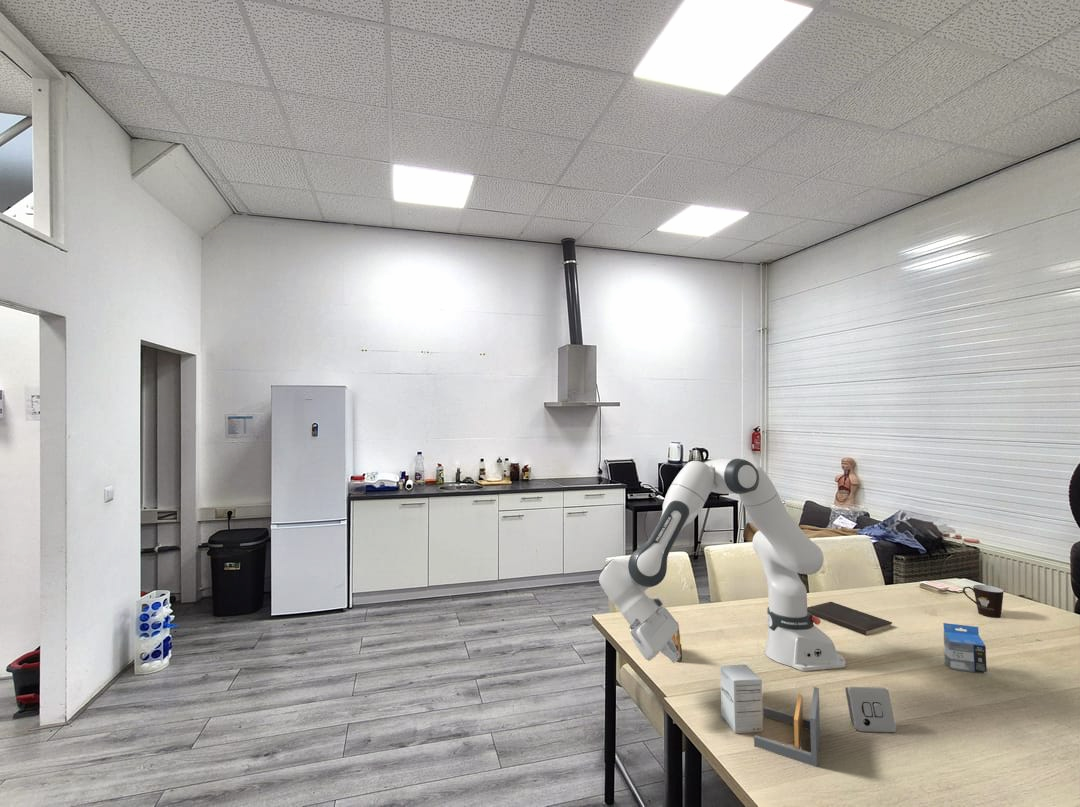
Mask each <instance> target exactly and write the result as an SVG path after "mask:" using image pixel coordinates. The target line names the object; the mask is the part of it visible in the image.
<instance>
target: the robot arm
mask: <svg viewBox="0 0 1080 807" xmlns="http://www.w3.org/2000/svg"><path fill="white" fill-rule="evenodd" d="M711 493H716V494H722V495H728V494H730V495H732V494H736V495H738V497H739V498H740V500H741V502H742V505H743V506H744V508H745V510H746V512H747V515H748V517H749V519H750V520H751V522H752V524H753V526H754V528H756V530H757V531H756V532H755V533H754V534H753V537H752V548H753V550H754V552H755V553H756V554H757V555H758V558H759V560H760V562H761V565H762V568H763V571H764V575H765V579H766V582H767V595H768V597H767V598H768V599H767V600H768V607H767V609H766V610H767V613H766V614H767V617H766V619H767V620H766V621H767V626H768V631H767V637H766V638H767V640H766V643H765V648H764V654H765V655H766V656H767V657H768V658H769V659H771V660H773V661H775V662H777V663H779V664H782V665H785V666H789V667H792V668H794V669H796V670H799V671H802V672H808V671H818V670H819V671H820V670H831V669H842V668H846V666H847V665H846V660H845V659H844V657H843V656H842V655H841V654H840V653H838V652H837V648H836V646H835V644H834V642H833V640H832V639H831V638H830V636H828V635H827V634H826V633H824V631H822V630H821V629H820V628H818V627H817V626H818V625H820V624H821V622H822V621H821V620H822V619H820V618H818V617H816V616H813V615H812V614H810V613H809V612H807V607H808V593H807V592H808V591H807V587H806V585H805V584H804V583H803V581H802V580H801V578H800V575H799V574H801V575H802V574H803V575H814V574H815V575H816V574H817V573H818V572H819V571H820V570H821V569H822V567H823V564H824V556H825V555H824V553H823V551H822V549H821V548H820V546H818V545H817V544H816V543H815V542H814V541H812V540H811V538H809V537H808V536H807V535H806V533H805V532H804V531H803V529H801V527H800V526H799V525H798V524H797V522H796V521H795V520H794V518H793V517H792V516H791V515H790V513H789V511H788V510H787V508H786V506H785V504H784V503H783V501H782V498H781V497H780V495H779V493H778V491H777V489H776V487H775V485H774V484H773V482H772V480H771V478H770V477H769V476H768V474H767V473H766V471H764V469H763V468H762V467H761V466H760V465H758V464H754V463H752V462H750V461H749V460H746V459H742V458H732V457H731V458H730V457H729V458H728V457H721V458H716V459H715V458H714V459H712V458H711V459H706V460H702V461H699V460H690V461H689V462H687V463H686V464H685V465H684V466H683V467H682V468H681V469H680V471H679V472H678V473H677V475H676V476H675V478H674V479H673V481H672V482H671V484H670V486H669V487H668V489H667V492H666V494H665V497H664V500H663V503H662V513H661V516H660V519H659V521H658V523H657V524H656V526H655V527H654V529H653V531H652V533H651V535H650V536H649V538H648V540H647V541H646V542H645V543H644V544H643V545H642V546H640V547H638V548H637V549H636V550H634V551H633V552H632V553H631V555H630V556H629V557H624V558H617V559H616V558H615V559H614V558H612V559H610V560H609V561H608V562H607V563H606V564H605V565H604V567H603V568H602V569H601V570H600V572H599V576H598V582H599V585H600V587H601V588H602V590H603V591H604V593H605V594H606V595H607V598H609V600H611V602H612V603H613V604H614V605H615V606H616V607H617V608H618V609H619V611H620V614H621V615H622V616H623V618H624V619H625V620H626V622H627V623H628V625H629V633H630V636H631V639H632V641H633V643H634V644H635V646H636V648H637V649H638V651H639V652H640V654H641V655H642V656H643V658H644V659H645V660H647V661H648V662H650V661H652V660H653V659H654V658H655V657H656V656H658V654H660V653H661V654H662V655H664V656H665V657H667V658H669V660H670V661H671V663H673V664H674V663H677V662H676V661H677V660H678V659H679V658H680V656H681V655H680V653H679V652H678V651H677V649H676V646H675V644H674V642H673V641H672V639H671V638H672V637H673V635H674V634H675V633H676V632H677V631H678V629H679V630H680V625H679V622H678V621H677V619H675V617H674V616H673V615H672V614H671V612H669V609H667V608H666V607H665V606H663V605H664V603H663V601H662V600H661V599H660V598H651V597H649V596H648V595H647V594H646V592H645V591H647V590H648V589H650V588H653V587H655V586H657V585H660V584H661V583H662V582H663V580H664V579H665V577H666V574H667V572H668V571H667V570H668V557H669V554H670V551H671V550H672V548H673V546H674V544H675V542H676V540H677V538H678V537H679V534H680V533H681V532H682V530H683V529H684V527H686V526H687V525H688V524H690V523H692V522H693V521H694V520H695V519H696V517H697V516H698V515H699V513H700V512H701V511H702V509H703V508H704V505H705V504H706V502H707V500H708V498H709V495H710V494H711ZM677 622H678V623H677ZM814 624H815V625H817V626H815V625H814ZM678 625H679V626H678Z"/></svg>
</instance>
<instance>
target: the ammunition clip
mask: <svg viewBox="0 0 1080 807" xmlns="http://www.w3.org/2000/svg"><path fill="white" fill-rule="evenodd" d="M676 622H677V623H678V626H679V627H680V625H679V622H678V621H676ZM671 639H672V641H673V642H674V644H675V646H676V649H677V651H678V652H679V653H680V655H681V656H680V658H679V659H678V660H677V661H676V662H675V663H678V662H679V663H680V662H682V661H683V653H682V651H683V650H682V644H681V634H680V628H679V629H678V631H677V632H676V633H675V634H674V635H673V637H672V638H671Z"/></svg>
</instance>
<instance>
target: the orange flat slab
mask: <svg viewBox="0 0 1080 807" xmlns="http://www.w3.org/2000/svg"><path fill="white" fill-rule="evenodd" d="M803 705H804V704H803V694H801V693H798V694H797V700H796V706H795V710H794V711H795V712H794V725H793V728H794V729H793V732H794V734H793V736H794V739H793V740H794V748H798V749H801V741H802V734H803V729H804V728H803V717H804V712H803V711H804V709H803V708H804V707H803Z"/></svg>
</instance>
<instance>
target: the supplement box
mask: <svg viewBox="0 0 1080 807" xmlns="http://www.w3.org/2000/svg"><path fill="white" fill-rule="evenodd" d="M719 668H720V670H719V672H720V674H719V675H720V676H719V677H720V711H721V712H720V714H721V715H720V716H721V717H722V718H723V720H725V721H726V723H727V724H728V725H729V727H730V728H731V729H732V730H733V732H734V733H735V734H748V733H761V732H763V731H764V725H763V724H764V723H763V721H764V719H763V717H764V716H763V685H762V684H763V683H762V681H763V680H762V678H761V677H760V676H759V675H757V673H755V671H754V670H753V669H752V668H750V667H749V666H748V665H747V664H732V665H731V664H730V665H720V666H719Z"/></svg>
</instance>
